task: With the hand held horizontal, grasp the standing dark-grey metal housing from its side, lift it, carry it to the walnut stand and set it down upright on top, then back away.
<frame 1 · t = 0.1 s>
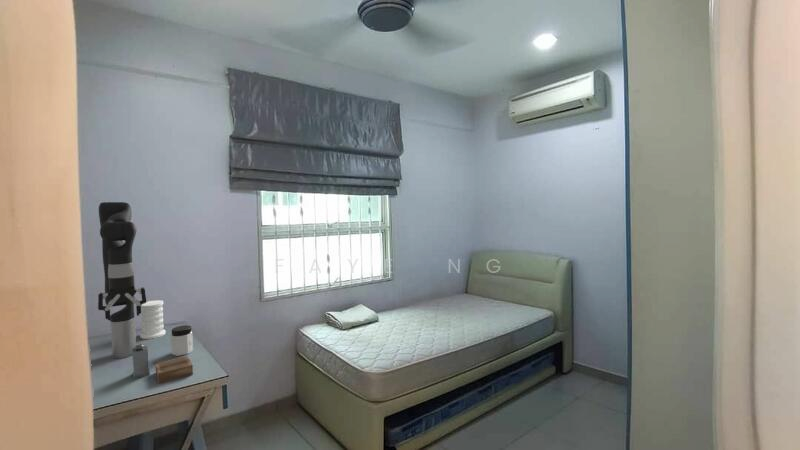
hand: (123, 317, 135), 29 cm above the table, tool pointing down, fingers open, 8 cm apart
stand: (174, 373, 152), on the table
jar: (182, 352, 173), on the table
housing: (141, 374, 151), on the table
decorative container: (153, 335, 197), on the table
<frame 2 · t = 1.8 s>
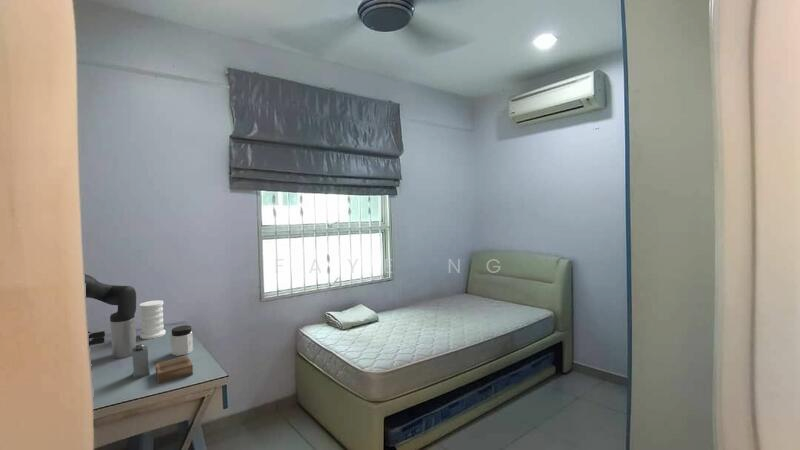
hand: (104, 336, 143), 19 cm above the table, tool horizontal, fingers open, 8 cm apart
nothing on the table moved.
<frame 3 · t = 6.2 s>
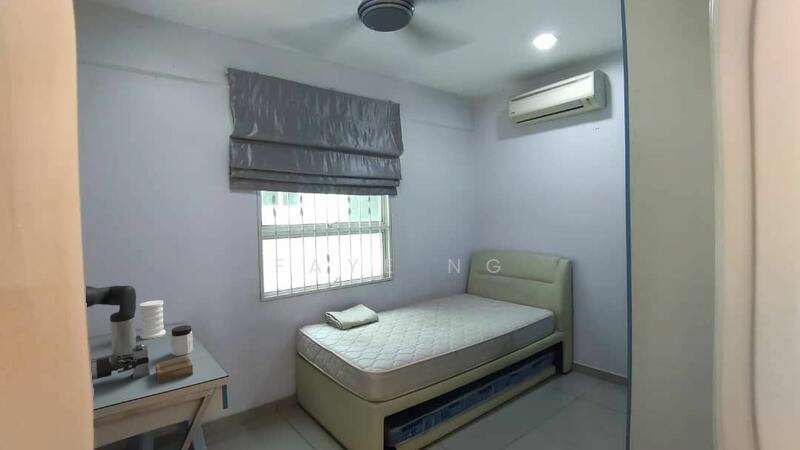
hand: (147, 357, 152), 7 cm above the table, tool horizontal, fingers closed on housing, 5 cm apart
housing: (141, 374, 151), on the table, touching gripper
everything else where it was.
when the fingers open (12 cm above the table, at t = 10.1 s): housing drops 1 cm, resting on stand.
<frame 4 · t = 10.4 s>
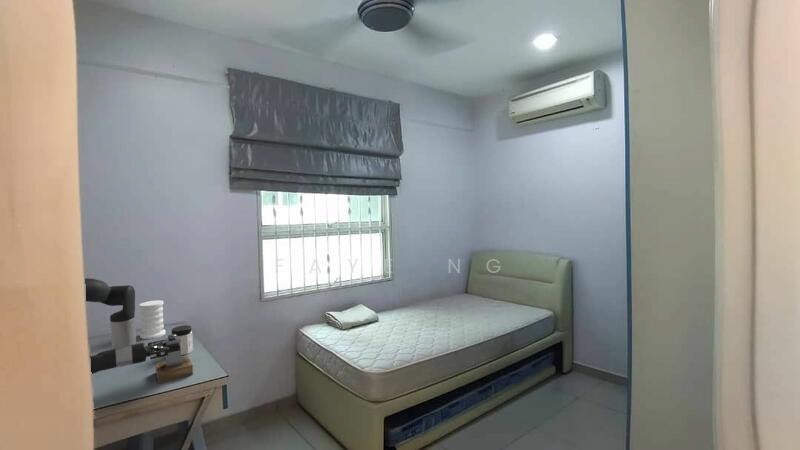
hand: (178, 344, 152), 12 cm above the table, tool horizontal, fingers open, 7 cm apart
housing: (173, 364, 151), point 4 cm above the table, touching stand
everything else where it was.
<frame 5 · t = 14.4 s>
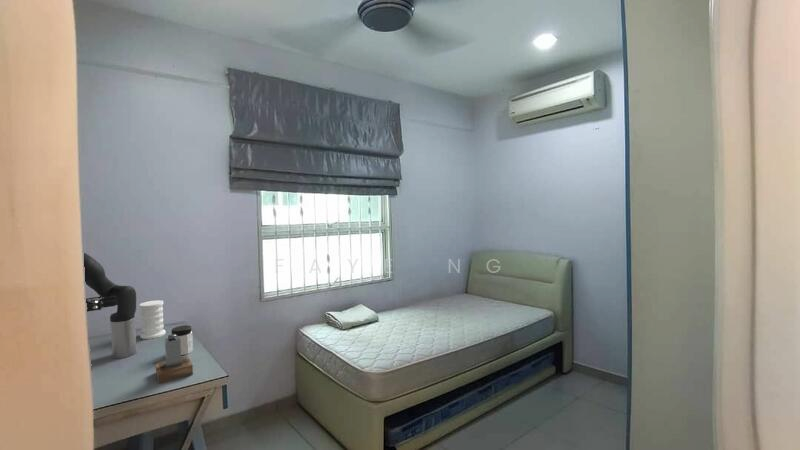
hand: (115, 300, 148), 32 cm above the table, tool horizontal, fingers open, 8 cm apart
nothing on the table moved.
at the end: housing inside the target area on the stand (0.1 cm from its centre), point 4.0 cm above the stand's base; housing tilted 0°; the gripper is holding nothing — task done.
